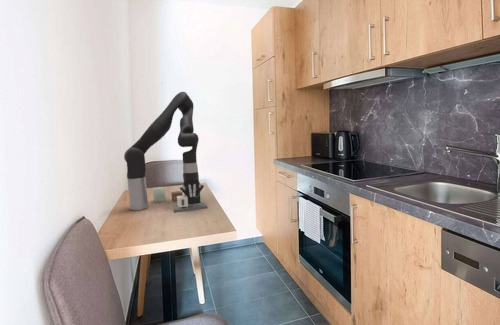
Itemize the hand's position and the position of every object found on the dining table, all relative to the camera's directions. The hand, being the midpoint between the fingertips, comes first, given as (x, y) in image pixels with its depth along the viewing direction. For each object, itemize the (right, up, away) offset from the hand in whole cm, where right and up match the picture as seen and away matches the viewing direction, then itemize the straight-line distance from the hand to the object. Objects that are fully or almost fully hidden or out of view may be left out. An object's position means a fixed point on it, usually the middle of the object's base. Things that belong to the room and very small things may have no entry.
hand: (193, 203), depth 152 cm
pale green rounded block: (-24, -2, +20) cm, 31 cm away
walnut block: (-13, -1, +20) cm, 24 cm away
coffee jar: (-3, -1, +13) cm, 13 cm away
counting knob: (-5, -1, -2) cm, 5 cm away
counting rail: (-1, -3, 0) cm, 3 cm away
